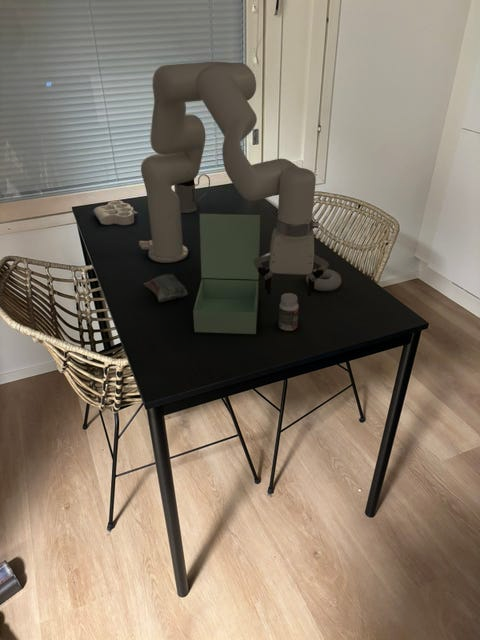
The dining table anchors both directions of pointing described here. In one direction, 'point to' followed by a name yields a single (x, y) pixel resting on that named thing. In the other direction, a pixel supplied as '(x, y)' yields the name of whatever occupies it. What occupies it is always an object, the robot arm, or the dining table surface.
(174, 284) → the packaged food
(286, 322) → the pill bottle
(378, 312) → the dining table surface
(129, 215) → the beige paint palette tray
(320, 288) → the donut
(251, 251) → the lunchbox lid
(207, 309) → the box
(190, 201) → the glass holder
